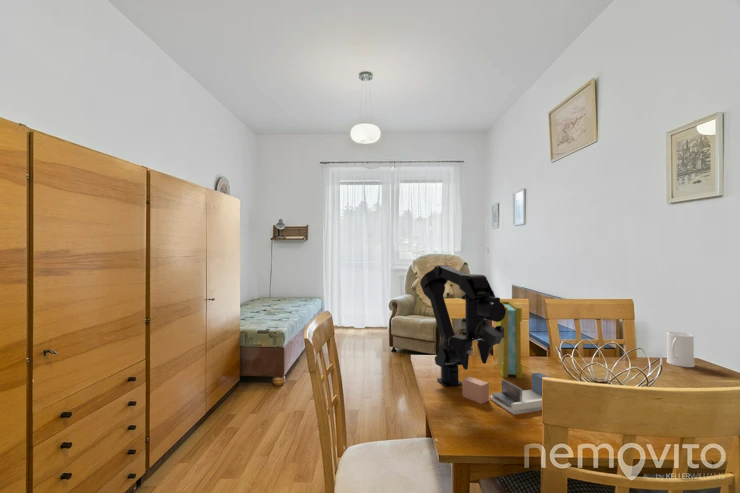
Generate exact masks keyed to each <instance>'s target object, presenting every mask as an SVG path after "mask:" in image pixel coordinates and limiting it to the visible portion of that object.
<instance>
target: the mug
mask: <svg viewBox="0 0 740 493" xmlns="http://www.w3.org/2000/svg"><path fill="white" fill-rule="evenodd" d="M694 337H695V336H694V335H693V334H691V333H688V332H687V333H686V332H681V331H668V332H666V349H667V350H666V356H667V357H666V364H667V363H668V364H670V365H671V366H672V365H673V366H676V367H682V368H694V367H696V364H695V356H694V355H695V354H694V352H695V346H694V345H695V344H694V343H695V342H694V341H695V340H694Z"/></svg>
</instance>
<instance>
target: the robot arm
mask: <svg viewBox="0 0 740 493" xmlns="http://www.w3.org/2000/svg"><path fill="white" fill-rule="evenodd" d="M448 282H450V283H453V284H455V285H458V286H459V290H460V291H462V292H463V293H464V295H462V296H461V300H464V301H465V317H463V318H462V322H463V323H465V329H464V331H462V335H460V334H455V332H454V328H453V325H452V321H451V318H450V314H449V312H448V311H449V310H448V308H447V304H446V300H445V298H444V294H445V291H446V286H445V285H447V283H448ZM419 284H420V287H421V289H422V292H423V295H425V297H426V298H428V299H429V301H430V304H431V308H432V310H433V315H434V319H435V323H436V325H437V330H438V333H439V336H440V341H439V343H438V353H437V354H436V355H434V356H435V357H434V363H435V365H437V366H439V367H440V377H438V378H437V379H436V381H437V382H439V383H441V385H442V386H444V387H454V386H459V385H462V386H463V381H460V380H459V366H462V368H463V369H464V370H468V368H469V357H470V353H471V352H472V351H473V348H472V347H473V343H474V342H477V346H478V350H479V355H480V360H481V363H482V364H485V365H486V364H487V361H488V358H489V355H490V353H491V350H492V347H493V346H495V345H497V344H500V342H501V339H502V338H504V337H505V336H504V327H502V326H500V325H499V326H490V325H489V324H490V323H489V321H492V322H495V323H496V322H500V321H502V320H503V319H504V317H505V314H506V309H505V307H504V305H503V304H502V303H501V302H500V301H501V298H500V297H497V296H496V295H495V292H494V291H493V289H492V287H491V285H490V283H489V281H488V278H487V276H486V275H484V274H477V273H476V274H473V273H472V274H471V273H467V272H463V271H461V270H459V269H456V268H453V267H450V266H449V265H444V264H443V265H436V266H434V268H433V269H431V270H429V271H428V272H426V273H425V274H424V275H423V276H422V278H420V282H419Z"/></svg>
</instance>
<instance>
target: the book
mask: <svg viewBox="0 0 740 493" xmlns="http://www.w3.org/2000/svg"><path fill="white" fill-rule="evenodd" d="M500 302H501V303H502V304H503V305H504V307H505V309H506V314H505V317H504V319H503V320H502V321H500V322H495V323H496V326H499V325H500V326H502V327H504V336H505V337H504V338H502V339H501V342H500V344H496V345H497V348H496V349H497V357H496V358H497V367H498V369H499V370H500V375H501V377H502V378H509V375H514V376H515V377H516V379H523V363H521V362H522V358H521V357H522V356H521V352H522V347H521V345H522V344H521V343H522V342H521V339H522V338H521V322H523V318H522V317H523V308H522V307H521V306H518V305H517V304H515V303H514V302H513V301H505V300H504V301H503V300H500ZM496 326H495V327H496Z"/></svg>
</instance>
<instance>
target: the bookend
mask: <svg viewBox="0 0 740 493" xmlns="http://www.w3.org/2000/svg"><path fill="white" fill-rule="evenodd" d="M522 391H523V388H520V387H519V386H517V385H515V384H514V383H511V382H510V381H507V380H505V379H501V392H500V391H499V392H493V393H491V395H492V396H493V397H495V398H496V399H498V400H500V401H501V402H503V403H504V404H506V405H508V406H509V407H511V406H512V403H515V402H522Z"/></svg>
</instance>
